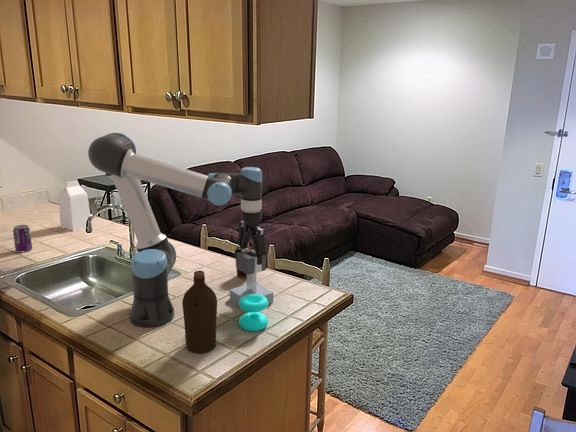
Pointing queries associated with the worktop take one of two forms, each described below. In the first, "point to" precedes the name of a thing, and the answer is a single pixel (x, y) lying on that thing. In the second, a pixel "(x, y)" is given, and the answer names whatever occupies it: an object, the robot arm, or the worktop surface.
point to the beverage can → (22, 238)
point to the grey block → (248, 261)
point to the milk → (73, 206)
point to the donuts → (253, 312)
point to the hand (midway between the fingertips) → (251, 268)
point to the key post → (251, 282)
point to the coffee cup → (239, 272)
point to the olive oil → (200, 316)
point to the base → (242, 291)
